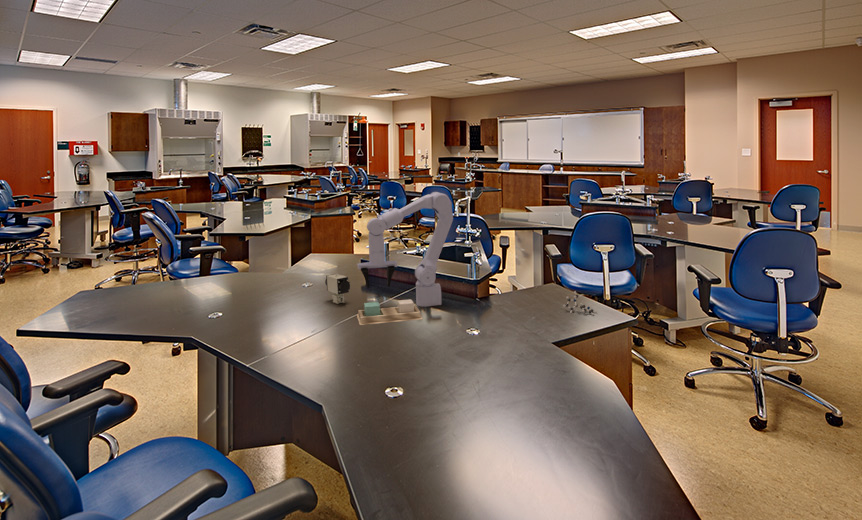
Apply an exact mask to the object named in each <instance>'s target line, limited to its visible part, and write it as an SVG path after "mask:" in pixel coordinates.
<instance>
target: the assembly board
mask: <svg viewBox="0 0 862 520" xmlns="http://www.w3.org/2000/svg"><path fill="white" fill-rule="evenodd" d="M357 313H358V314H356V317H357V320H358V324H359V326H367V325H376V324H386V323H395V322H396V323H397V322H406V321H407V322H408V321H418V320H424V318H423V316H422V312H421V311H420V309H419V308H418V307H417V304H416V305H415V304H414V312H410V313H399V314H398V306H394V307H392V306H391V307H380V315H377V316H366V317H365V313H364V309H358V312H357Z"/></svg>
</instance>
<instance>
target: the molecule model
mask: <svg viewBox="0 0 862 520" xmlns="http://www.w3.org/2000/svg"><path fill="white" fill-rule="evenodd" d="M573 294H575V295H574V296H573V298H574V299H571V298H570V296H566V300H567V303H566V304H563V305H562V308H569V309H570V310H569V313H570V314H573V312H575V309H574V308H578V307H579V309H581V311H582V313H585V312H588V314H590V315H591V316H594V315H595V314H598V310H594V309H593V308H591V306H586V305H585V304H583V303H582V302H581V303H579V304H580V305H578V303H577V298H579V297H580V298H583V295H582V294H580V295H578V294H577V291H576V290H575V291H573ZM571 301H573V302H574V306H573V307H570V305H569V302H571Z"/></svg>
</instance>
